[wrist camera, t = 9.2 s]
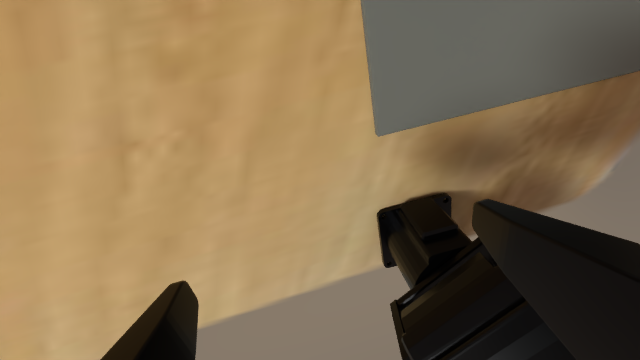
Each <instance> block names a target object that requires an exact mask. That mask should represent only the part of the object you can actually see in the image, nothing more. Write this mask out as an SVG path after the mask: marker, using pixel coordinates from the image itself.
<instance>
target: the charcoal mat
mask: <svg viewBox="0 0 640 360" xmlns="http://www.w3.org/2000/svg"><path fill="white" fill-rule="evenodd" d="M361 7H362V16H363V25H364V34H365V43H366V52H367V61H368V70H369V79H370V88H371V97H372V106H373V115H374V124H375V133H376V135H377V136H378V137H379V136H383V135H387V134H391V133H395V132H399V131H403V130H406V129H410V128H414V127H418V126H422V125H426V124H430V123H434V122H438V121H442V120H446V119H450V118H454V117H458V116H462V115H466V114H470V113H474V112H478V111H482V110H486V109H490V108H494V107H498V106H502V105H506V104H510V103H514V102H518V101H521V100H525V99H529V98H533V97H537V96H541V95H545V94H549V93H553V92H557V91H561V90H565V89H569V88H573V87H577V86H581V85H585V84H589V83H593V82H597V81H601V80H605V79H609V78H613V77H617V76H621V75H625V74H629V73H633V72H637V71H640V0H361Z"/></svg>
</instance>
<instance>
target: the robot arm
mask: <svg viewBox="0 0 640 360" xmlns="http://www.w3.org/2000/svg"><path fill="white" fill-rule="evenodd" d="M445 198H446V199H445ZM444 199H445V200H444ZM443 200H444V201H443ZM382 215H385V216H383V217H381V216H382ZM377 222H378V229H379V237H380V245H381V253H382V261H383V264H384V266H385V267H386V268H390V267H394V266H398V268H399V269H400V271H401V273H402V275H403V277H404V278H405V280H406V282H407V284H408V286H409V287H410V289H411V290H410V291H408V292H407V293H406V294H404V295H403V296H402V297H400V298H399V299H398V300H394V301H393V302H392V303H391V304H390V306H391V311H392V317H393V321H394V325H395V330H396V334H397V339H398V343H399V347H400V352H401V356H402V359H403V360H640V244H638V243H635V242H632V241H628V240H625V239H622V238H618V237H615V236H612V235H608V234H605V233H601V232H598V231H594V230H591V229H588V228H585V227H581V226H578V225H574V224H571V223H568V222H564V221H561V220H558V219H554V218H551V217H548V216H544V215H541V214H537V213H534V212H531V211H527V210H524V209H521V208H517V207H514V206H510V205H507V204H504V203H500V202H497V201H494V200H490V199H485V200H481V201H477V202H475V203H474V205H473V216H472V226H473V229H474V231H475V232H476V234H477V235H478V238H477V239H476V240H474V241H473V242H472V241H471V240H470V239H469V238H468V237H467V236H466V235H465V234H464V233H463V232H462V231H461V229H460V228H459V227H458V225H457V224H456V223H455V222H454V221H453V219H452V218H451V197H450V196H449V195H448V194H446V193H443V194H439V195H435V196H432V197H427V198H424V199H420V200H416V201H412V202H409V203H405V204H401V205H398V206H394V207H390V208H386V209H383V210H380V211H379V212H378V213H377ZM197 323H198V300H197V297H196V296H195V294H194V292H193V291H192V289H191V288H190V286H189V284H188V283H187V282H186V281H180V282H176V283H172V284H170V285H169V286H168V287H167V288H166V289H165V290H164V291H163V292H162V294H161V295H160V296H159V297H158V298H157V299H156V300H155V301H154V302H153V303H152V304H151V305H150V307H149V308H148V309H147V310H146V311H145V312H144V313H143V314H142V315H141V316H140V317H139V318H138V320H137V321H136V322H135V323H134V324H133V325H132V326H131V327H130V328H129V329H128V330H127V331H126V333H125V334H124V335H123V336H122V337H121V338H120V339H119V340H118V341H117V342H116V343H115V344H114V346H113V347H112V348H111V349H110V350H109V351H108V352H107V353H106V354H105V355H104V356H103V357H102V359H101V360H195V355H196V339H197Z"/></svg>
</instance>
